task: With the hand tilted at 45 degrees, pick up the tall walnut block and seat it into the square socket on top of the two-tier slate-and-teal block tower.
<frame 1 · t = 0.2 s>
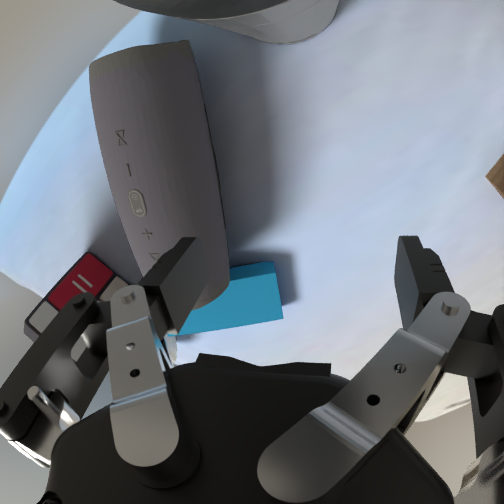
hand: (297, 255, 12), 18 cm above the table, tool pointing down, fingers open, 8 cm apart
bluetooth speaker: (187, 159, 30), on the table
blue rectangular block: (208, 283, 40), on the table
calculator: (113, 277, 43), on the table
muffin: (166, 333, 47), on the table
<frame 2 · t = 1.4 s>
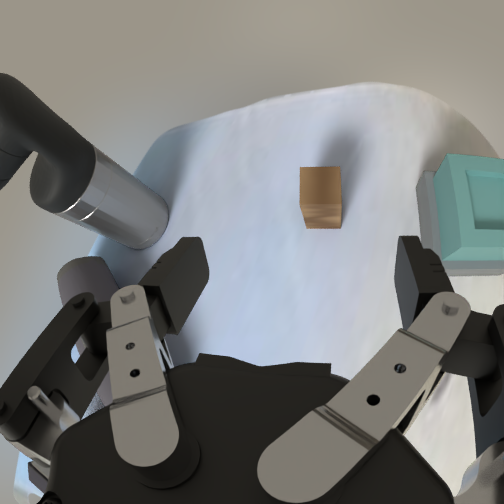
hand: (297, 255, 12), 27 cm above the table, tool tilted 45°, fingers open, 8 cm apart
bluetooth speaker: (130, 340, 44), on the table
tower base: (459, 231, 35), on the table
calculator: (114, 463, 40), on the table
walnut brick: (323, 212, 40), on the table
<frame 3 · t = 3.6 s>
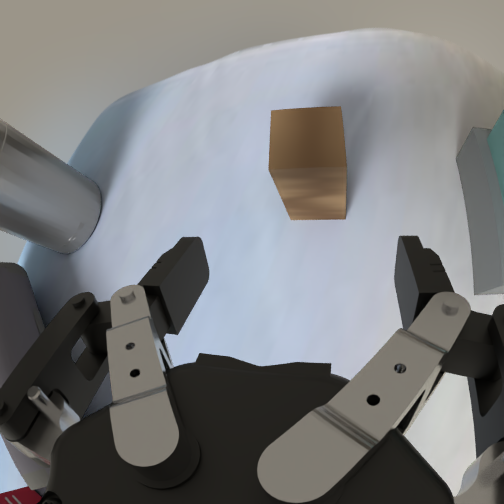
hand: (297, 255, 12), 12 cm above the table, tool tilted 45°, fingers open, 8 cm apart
bluetooth speaker: (56, 374, 28), on the table
walnut brick: (317, 194, 25), on the table
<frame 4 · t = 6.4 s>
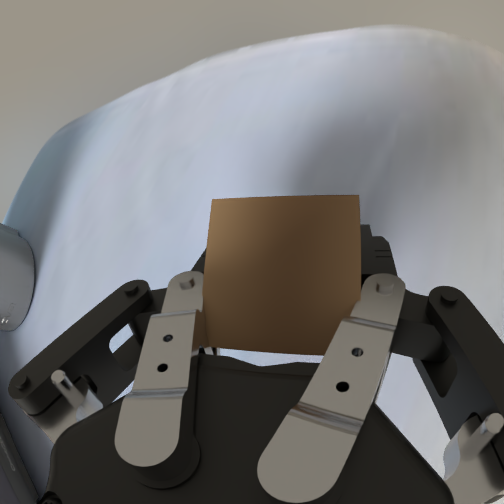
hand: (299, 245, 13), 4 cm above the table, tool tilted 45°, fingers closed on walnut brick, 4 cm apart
bluetooth speaker: (15, 455, 20), on the table
walnut brick: (307, 301, 17), on the table, touching gripper
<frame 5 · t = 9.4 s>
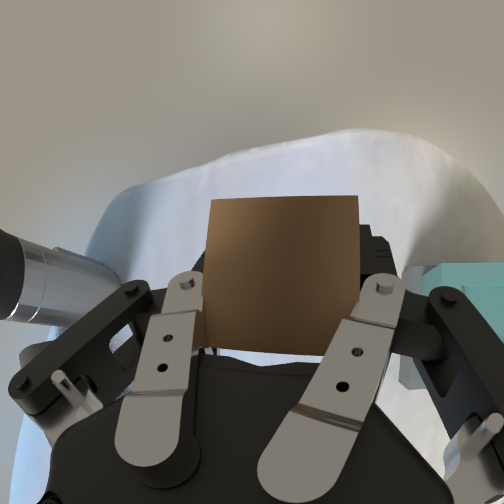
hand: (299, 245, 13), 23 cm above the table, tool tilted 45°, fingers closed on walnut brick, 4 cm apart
bluetooth speaker: (96, 417, 38), on the table
tower base: (449, 326, 30), on the table
walnut brick: (307, 301, 17), point 18 cm above the table, touching gripper
when the fingers open (17 cm above the table, at t = 12.7 s): walnut brick drops 3 cm, resting on tower base.
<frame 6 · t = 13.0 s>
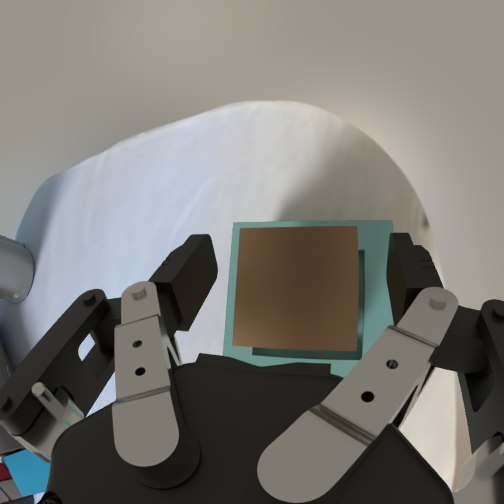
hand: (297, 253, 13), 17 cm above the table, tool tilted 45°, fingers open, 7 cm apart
bluetooth speaker: (14, 383, 37), on the table
tower base: (319, 314, 28), on the table
blue rectangular block: (51, 466, 32), on the table
calculator: (17, 483, 33), on the table
walnut brick: (313, 305, 19), point 10 cm above the table, touching tower base
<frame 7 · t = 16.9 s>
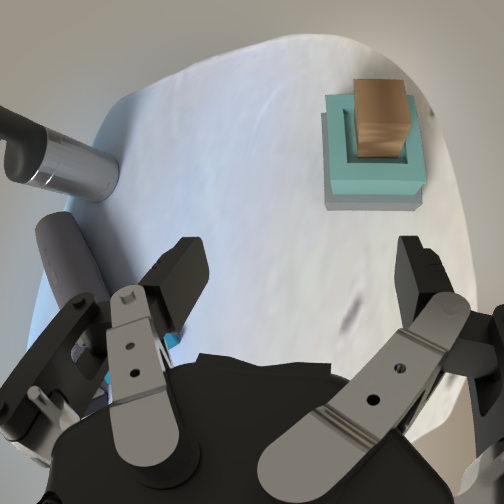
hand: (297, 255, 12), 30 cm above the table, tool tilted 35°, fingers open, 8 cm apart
bluetooth speaker: (95, 277, 53), on the table
tower base: (369, 167, 40), on the table
calculator: (89, 387, 53), on the table
walnut brick: (375, 139, 30), point 10 cm above the table, touching tower base
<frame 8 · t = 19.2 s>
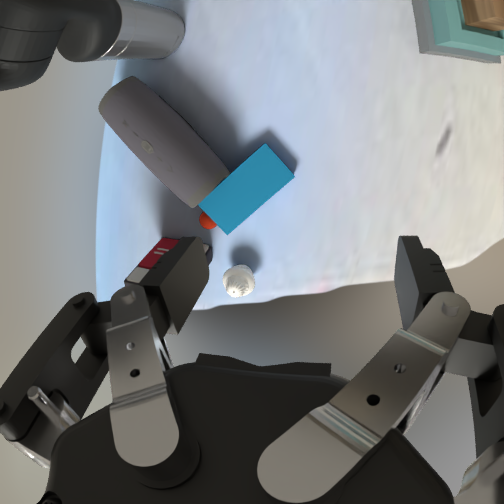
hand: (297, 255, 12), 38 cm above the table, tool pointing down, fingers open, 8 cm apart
bluetooth speaker: (177, 133, 50), on the table
tower base: (450, 22, 29), on the table
blue rectangular block: (241, 189, 53), on the table
calculator: (187, 247, 62), on the table
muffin: (243, 270, 62), on the table
walnut brick: (477, 12, 21), point 10 cm above the table, touching tower base
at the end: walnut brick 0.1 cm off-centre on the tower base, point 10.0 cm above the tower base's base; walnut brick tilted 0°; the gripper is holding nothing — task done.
